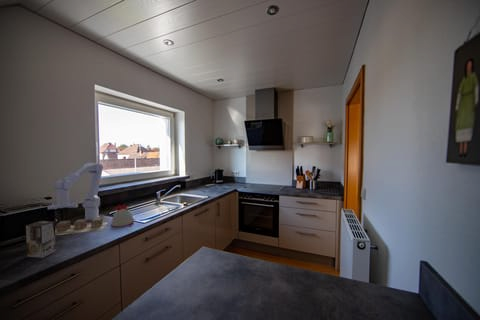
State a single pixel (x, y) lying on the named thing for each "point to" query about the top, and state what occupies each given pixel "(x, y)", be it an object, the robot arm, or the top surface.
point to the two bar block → (96, 222)
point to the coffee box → (40, 239)
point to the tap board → (81, 229)
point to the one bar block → (80, 224)
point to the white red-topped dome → (122, 217)
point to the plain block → (62, 226)
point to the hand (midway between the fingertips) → (63, 219)
